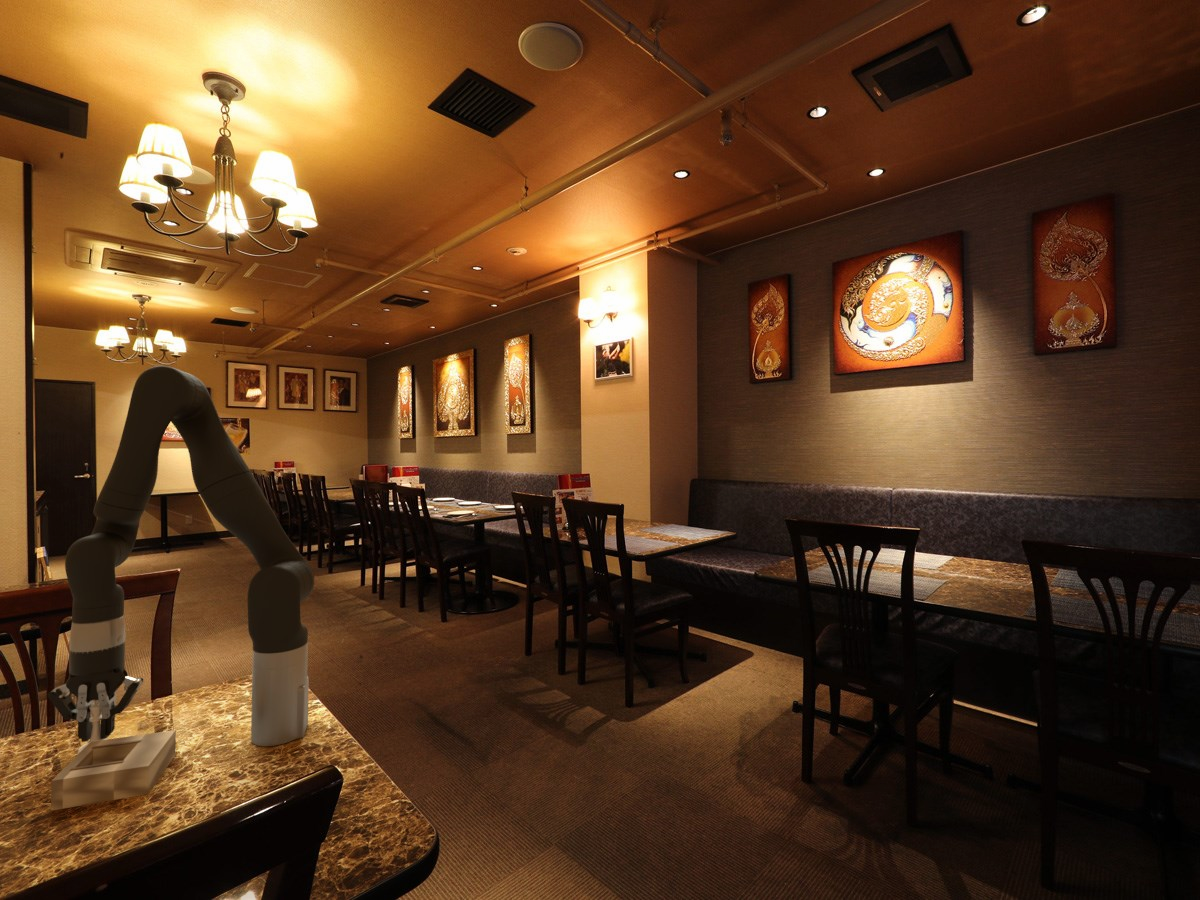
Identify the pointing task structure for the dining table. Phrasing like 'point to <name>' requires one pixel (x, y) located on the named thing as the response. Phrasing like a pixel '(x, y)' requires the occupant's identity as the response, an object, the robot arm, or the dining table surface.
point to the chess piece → (94, 724)
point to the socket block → (113, 770)
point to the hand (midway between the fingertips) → (96, 737)
